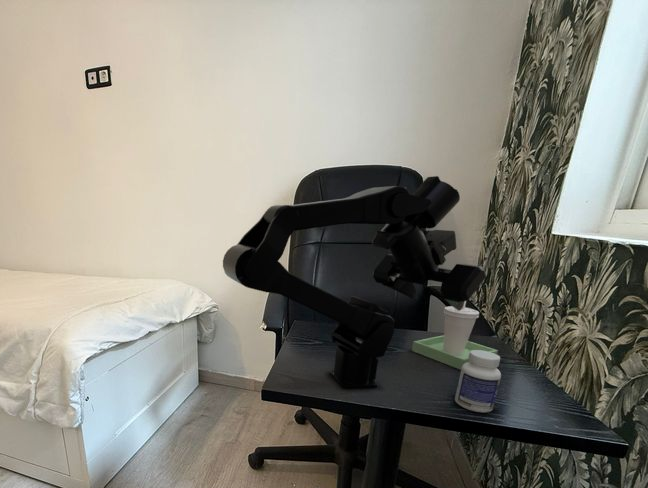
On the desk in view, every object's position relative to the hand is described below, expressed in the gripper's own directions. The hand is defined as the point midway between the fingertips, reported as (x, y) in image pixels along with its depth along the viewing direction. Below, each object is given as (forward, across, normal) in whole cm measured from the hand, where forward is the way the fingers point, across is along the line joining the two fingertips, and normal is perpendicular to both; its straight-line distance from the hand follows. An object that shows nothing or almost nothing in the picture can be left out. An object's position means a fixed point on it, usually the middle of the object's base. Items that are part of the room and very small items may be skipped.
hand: (437, 302), depth 70 cm
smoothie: (+16, +1, +2) cm, 16 cm away
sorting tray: (+17, +1, +2) cm, 17 cm away
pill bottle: (+4, -14, +15) cm, 21 cm away
